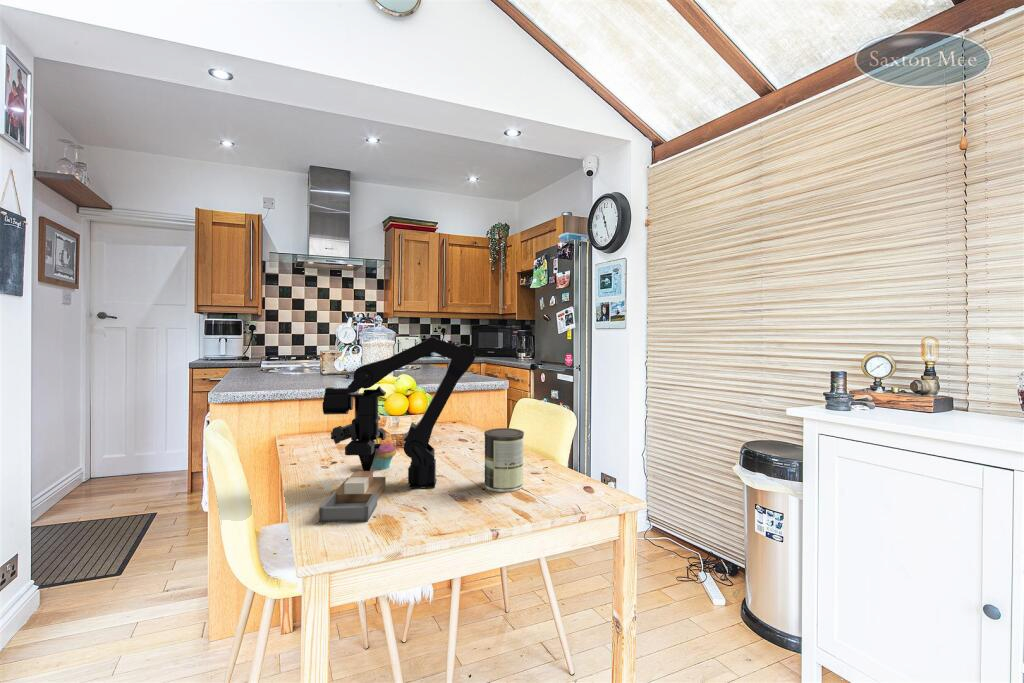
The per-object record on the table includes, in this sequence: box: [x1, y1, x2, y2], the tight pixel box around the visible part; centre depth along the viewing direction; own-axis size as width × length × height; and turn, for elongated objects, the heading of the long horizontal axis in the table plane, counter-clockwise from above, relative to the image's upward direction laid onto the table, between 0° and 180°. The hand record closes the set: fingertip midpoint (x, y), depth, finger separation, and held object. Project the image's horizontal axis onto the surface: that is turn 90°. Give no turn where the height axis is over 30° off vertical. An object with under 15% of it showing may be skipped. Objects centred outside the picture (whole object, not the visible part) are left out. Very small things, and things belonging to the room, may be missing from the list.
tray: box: [318, 492, 378, 524], centre depth 106 cm, size 10×10×3 cm
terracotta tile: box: [349, 470, 374, 486], centre depth 119 cm, size 4×4×2 cm
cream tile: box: [343, 476, 369, 494], centre depth 114 cm, size 4×4×2 cm
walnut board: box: [334, 476, 387, 503], centre depth 118 cm, size 10×13×2 cm
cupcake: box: [372, 438, 397, 470], centre depth 142 cm, size 9×8×12 cm
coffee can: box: [483, 427, 525, 493], centre depth 126 cm, size 10×10×14 cm
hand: (366, 474), depth 124 cm, fingers closed
